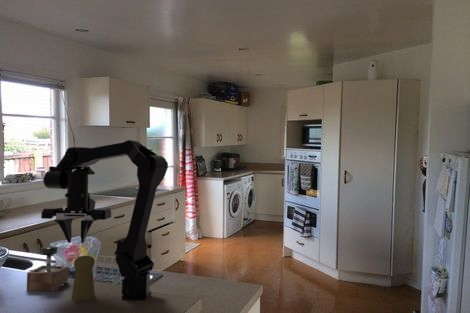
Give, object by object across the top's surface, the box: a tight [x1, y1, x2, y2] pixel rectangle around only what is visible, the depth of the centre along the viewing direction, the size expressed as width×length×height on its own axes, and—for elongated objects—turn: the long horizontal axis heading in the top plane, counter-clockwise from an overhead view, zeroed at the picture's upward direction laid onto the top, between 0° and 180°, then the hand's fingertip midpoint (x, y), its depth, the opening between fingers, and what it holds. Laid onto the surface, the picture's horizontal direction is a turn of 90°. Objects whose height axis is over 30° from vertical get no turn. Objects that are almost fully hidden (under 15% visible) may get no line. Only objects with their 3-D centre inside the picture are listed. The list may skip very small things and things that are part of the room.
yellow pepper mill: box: [70, 255, 96, 302], centre depth 101 cm, size 6×6×11 cm
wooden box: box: [26, 265, 69, 292], centre depth 109 cm, size 8×8×5 cm
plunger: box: [38, 245, 59, 273], centre depth 109 cm, size 6×6×7 cm
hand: (76, 242), depth 109 cm, fingers open, 4 cm apart
